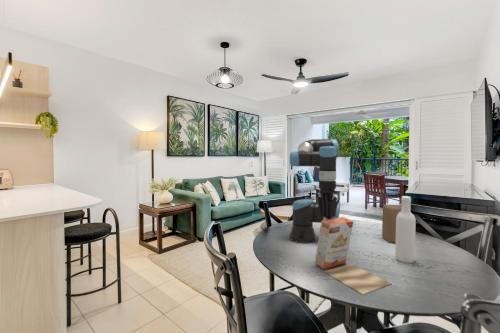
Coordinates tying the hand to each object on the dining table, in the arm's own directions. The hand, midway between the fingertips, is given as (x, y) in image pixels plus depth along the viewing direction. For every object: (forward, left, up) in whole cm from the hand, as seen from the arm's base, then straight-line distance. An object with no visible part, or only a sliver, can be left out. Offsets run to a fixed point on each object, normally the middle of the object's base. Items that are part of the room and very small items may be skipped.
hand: (326, 231), depth 112 cm
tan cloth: (+16, 0, -15) cm, 22 cm away
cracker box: (+2, 0, -14) cm, 15 cm away
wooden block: (-5, +56, -15) cm, 58 cm away
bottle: (+14, +35, -15) cm, 41 cm away
